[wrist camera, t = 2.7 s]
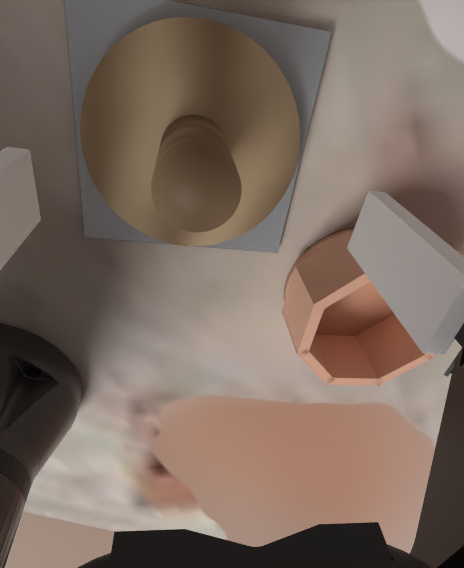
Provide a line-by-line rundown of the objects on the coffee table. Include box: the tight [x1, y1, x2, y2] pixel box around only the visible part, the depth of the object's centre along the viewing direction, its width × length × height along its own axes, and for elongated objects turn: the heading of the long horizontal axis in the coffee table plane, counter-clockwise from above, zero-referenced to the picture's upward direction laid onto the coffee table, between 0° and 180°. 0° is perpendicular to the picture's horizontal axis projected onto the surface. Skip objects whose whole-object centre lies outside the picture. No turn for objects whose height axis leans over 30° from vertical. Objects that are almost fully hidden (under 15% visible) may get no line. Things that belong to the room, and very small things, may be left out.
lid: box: [80, 17, 300, 246], centre depth 19 cm, size 13×13×8 cm
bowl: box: [282, 228, 434, 386], centre depth 28 cm, size 11×11×6 cm
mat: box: [64, 0, 332, 253], centre depth 23 cm, size 14×14×1 cm
